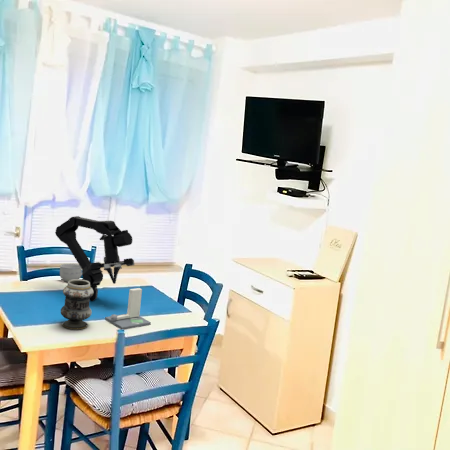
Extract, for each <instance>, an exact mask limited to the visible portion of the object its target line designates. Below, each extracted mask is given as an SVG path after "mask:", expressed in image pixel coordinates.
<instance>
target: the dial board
mask: <svg viewBox="0 0 450 450" xmlns="http://www.w3.org/2000/svg"><path fill="white" fill-rule="evenodd" d="M126 314H127V313H123V314H116V315H117V316H120V315H126ZM104 320H105V321H107V322H108V323H110V324H111V325H114V326H115V327H116V328H118V329H120V330H122V329H124V330H129V329H134V328H140V327H145V326H150V325H151V322H150V321H149V320H147V319H146V318H144V317H142V316H140V315H139V316H138V317H132V318H125V319H119V320H117V321H112V320H111V315H110V316H105V318H104Z"/></svg>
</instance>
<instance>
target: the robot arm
mask: <svg viewBox="0 0 450 450" xmlns="http://www.w3.org/2000/svg"><path fill="white" fill-rule="evenodd" d="M79 227H81V228H85V229H90V230H94V231H95V232H96V233H98V234H101V236H100V238H99V241H103V246H104V257H103V263H101V262H99V261H96V262H92V261H90V259H89V257H88V256H87V254H86V252H85V250H83V248H82V246H81V245H80V243H79V242H78V239H77V233H76V231H77V230H79ZM54 233H55V236H56V237H57V239H58V240H59V241H61V242H62V243H64V244H65V245H66V246H67V247H68V249H69V251H70V252H71V254H72V256H73V257H74V259H75V261H76V262H77V264H79V265H80V267H81V268H82V270H81V273H82V275H81V277H82V279H81V280H86V281H89V282H90V287H91V288H92V289H93V291H94V293H93V295H92V297H90V302H94V301H95V300H96V299H98V293H99V289H98V286H100V285H101V282H102V281H103V280H104V273H103V271H106V272H107V274H108V275H109V277H110V280H111V281H112V285H115V284H116V283H117V280H118V279H117V278H118V275H119V271H120V270H121V269H122V266H127V267H132V266H135V259H133V258H130V257H129V258H124V259H123V260H120V256H119V251H118V249H119V248H122V247H126V246H131V245H132V244H133V236H132V235H131V233H130V232H129V231H128V229H125V230H124V229H123V230H121V229H120V228H119V226H117V224H116V222H115V221H113V220H95V219H90V218H87V217H81V216H79V215H78V216H77V215H76V216H70V217H69V218H68V220H66V221H64V222H63V223H61V224H60V225H58V226H57V227H56V228H55V232H54ZM102 268H103V270H102Z"/></svg>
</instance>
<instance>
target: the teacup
mask: <svg viewBox="0 0 450 450" xmlns="http://www.w3.org/2000/svg"><path fill="white" fill-rule="evenodd" d="M59 276H60V279H62V280H63V281H64V282H67V283H68V281H70V280H73V279H81V277H82V268H81V267H80V265H79V264H78V263H63V264H60V265H59Z"/></svg>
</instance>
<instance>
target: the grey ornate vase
mask: <svg viewBox="0 0 450 450" xmlns="http://www.w3.org/2000/svg"><path fill="white" fill-rule="evenodd" d="M93 293H94V291H93V289H92V288H91V287H90V282H89V281H86V280H82V279H81V278H80V279H73V280H70V281H68V282H67V285H66V286H64V287H63V289H62V294H63V295H64V296H65V298H64V305H63V306H62V307H61V308H60V315H61V316H62V317H63V318H64V319H67V320H65V321H63V322H62V327H63V328H65V329H68V330H74V331H75V330H77V331H78V330H83V329H86V328H87V327H88V325H89V324H88V323H87V322H86V321H84V320H87V319H89V318H90V317H91V316H92V314H93V312H92V309H91V308H90V302H91V301H90V297H92V295H93Z"/></svg>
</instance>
